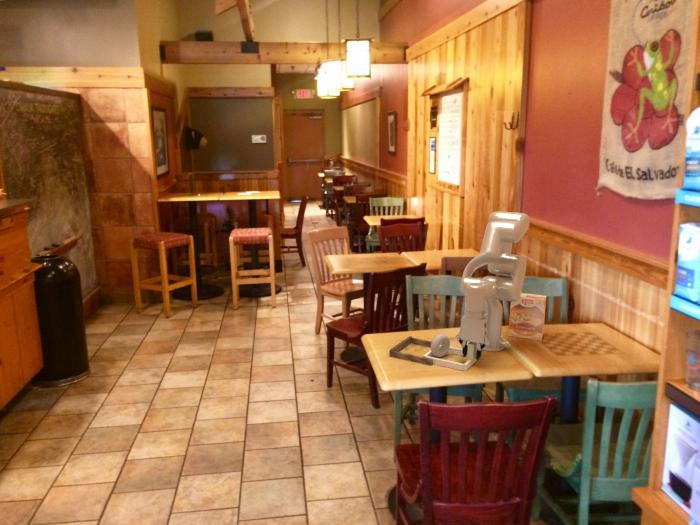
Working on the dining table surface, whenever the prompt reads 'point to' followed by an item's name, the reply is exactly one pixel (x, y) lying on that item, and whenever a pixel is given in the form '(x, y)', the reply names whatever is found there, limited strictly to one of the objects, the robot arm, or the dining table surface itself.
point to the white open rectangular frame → (459, 366)
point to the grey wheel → (436, 343)
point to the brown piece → (395, 353)
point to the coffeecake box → (527, 316)
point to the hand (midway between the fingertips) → (471, 356)
